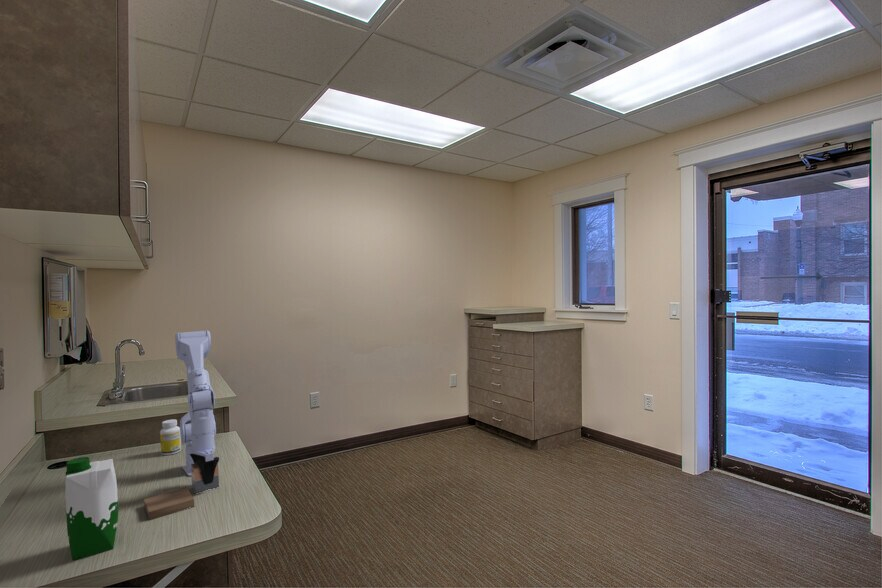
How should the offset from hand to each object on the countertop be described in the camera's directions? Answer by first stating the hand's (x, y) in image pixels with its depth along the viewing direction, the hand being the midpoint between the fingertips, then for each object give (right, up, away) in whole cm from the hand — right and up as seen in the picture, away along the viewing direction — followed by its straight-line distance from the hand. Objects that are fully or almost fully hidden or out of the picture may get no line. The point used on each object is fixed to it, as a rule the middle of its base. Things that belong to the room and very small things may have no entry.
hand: (205, 479), depth 131 cm
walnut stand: (-4, -3, -11) cm, 12 cm away
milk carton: (-9, -3, -30) cm, 31 cm away
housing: (0, -3, 0) cm, 2 cm away
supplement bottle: (-29, -4, +32) cm, 43 cm away
